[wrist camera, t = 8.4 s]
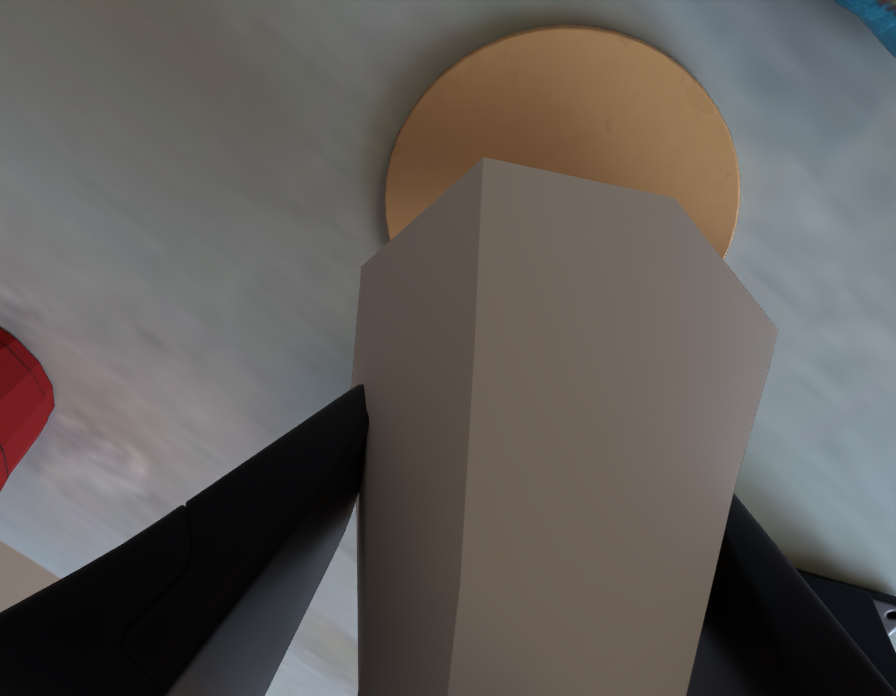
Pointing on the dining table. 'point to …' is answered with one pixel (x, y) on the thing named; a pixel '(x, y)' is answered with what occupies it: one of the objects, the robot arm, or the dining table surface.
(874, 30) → the dish towel
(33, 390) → the plastic cup
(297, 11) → the dining table surface
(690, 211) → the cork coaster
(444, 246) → the flask
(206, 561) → the robot arm
